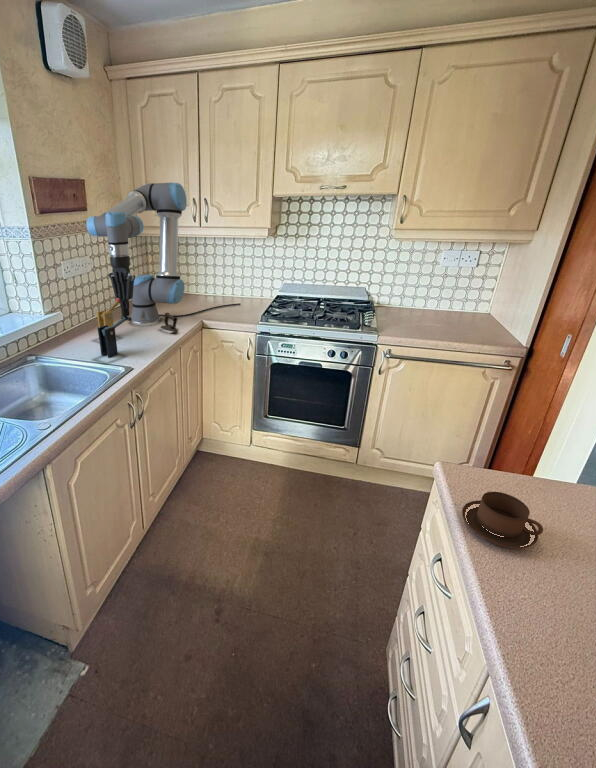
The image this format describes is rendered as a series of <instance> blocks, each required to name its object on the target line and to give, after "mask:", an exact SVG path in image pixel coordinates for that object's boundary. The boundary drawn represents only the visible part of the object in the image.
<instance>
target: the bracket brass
mask: <svg viewBox="0 0 596 768" xmlns="http://www.w3.org/2000/svg"><path fill="white" fill-rule="evenodd" d="M104 311H105V312H106V313H103V312H104ZM102 313H103V319H104V320H103V319H102V318H101V316H100V315H101V314H102ZM96 316H97V317H96V318H97V323H98V324H97V325H98V327H102V326H105V325H108V327H109V328H110V327H111V326H113V325H114V317H113V310H112V311H110V312H107V310H106V309H103V310H100V311H99V310H98V311H96Z"/></svg>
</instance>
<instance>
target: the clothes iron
mask: <svg viewBox="0 0 596 768" xmlns="http://www.w3.org/2000/svg"><path fill="white" fill-rule="evenodd" d="M164 315H165V317H164V325H161V326H159V328H160V329H163V330H165V331H168V332H169V334H170V335H177V334H178V330H177V328H176V326H177V321H178V317H173V316H174V315H172V314H170V313H169V312H165V313H164ZM169 319H170V320H171V321H172V324H169Z"/></svg>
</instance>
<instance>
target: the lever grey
mask: <svg viewBox="0 0 596 768" xmlns="http://www.w3.org/2000/svg"><path fill="white" fill-rule="evenodd" d="M131 320H132V318H131V316H127V317H122V315H121V316H120V320H119V321H117V322H116V323H113V326H111V327H115V329H116V328H118V327H119V326H120V325H122V324H123V323H125V322H126V321H128V322H131ZM107 328H109V327H106V328H104V329H107ZM104 329H103V330H101V331H102V334H103V336H105V331H104Z"/></svg>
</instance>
